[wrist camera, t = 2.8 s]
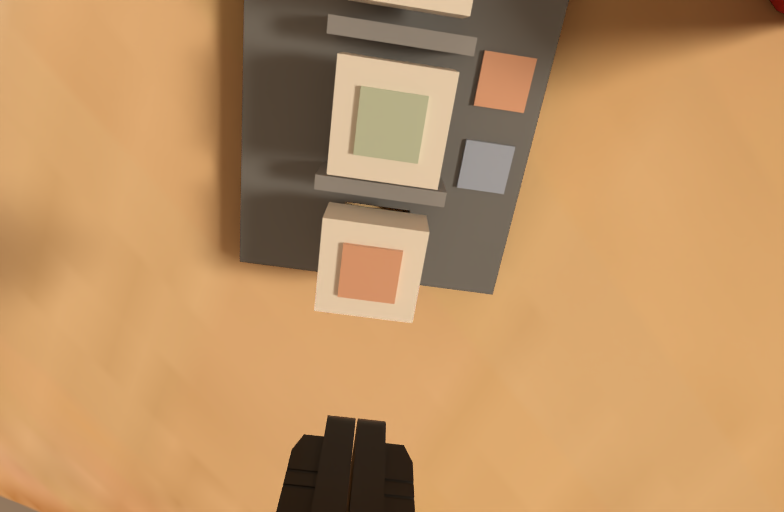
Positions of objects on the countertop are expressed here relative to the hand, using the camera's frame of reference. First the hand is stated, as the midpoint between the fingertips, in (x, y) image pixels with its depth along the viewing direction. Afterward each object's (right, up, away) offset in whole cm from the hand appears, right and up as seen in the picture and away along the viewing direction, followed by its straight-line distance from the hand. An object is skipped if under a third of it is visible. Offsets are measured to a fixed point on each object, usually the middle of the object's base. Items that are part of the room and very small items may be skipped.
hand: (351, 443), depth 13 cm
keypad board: (+1, +12, +12) cm, 17 cm away
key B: (+1, +12, +10) cm, 15 cm away
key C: (0, +6, +13) cm, 14 cm away
